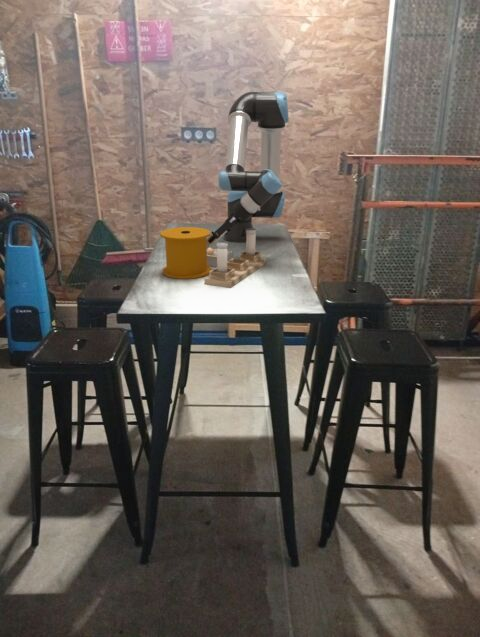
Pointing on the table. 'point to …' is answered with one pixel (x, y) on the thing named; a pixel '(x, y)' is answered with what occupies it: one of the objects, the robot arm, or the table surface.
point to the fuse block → (236, 270)
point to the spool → (186, 252)
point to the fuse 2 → (250, 241)
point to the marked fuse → (211, 252)
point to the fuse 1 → (222, 257)
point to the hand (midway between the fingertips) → (209, 243)
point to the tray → (213, 259)
